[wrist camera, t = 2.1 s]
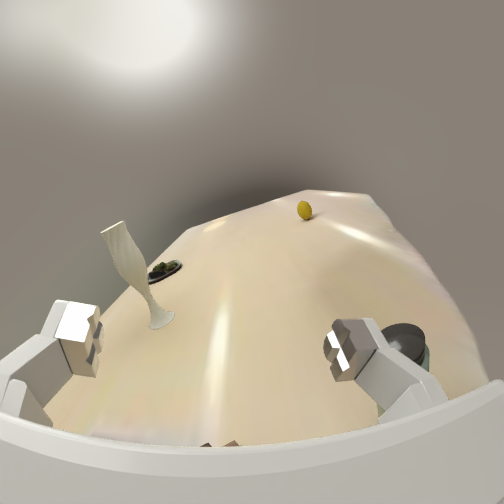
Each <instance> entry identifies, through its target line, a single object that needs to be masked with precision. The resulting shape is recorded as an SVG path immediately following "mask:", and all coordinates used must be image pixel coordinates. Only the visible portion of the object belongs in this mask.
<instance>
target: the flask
mask: <svg viewBox="0 0 504 504" xmlns="http://www.w3.org/2000/svg"><path fill="white" fill-rule="evenodd" d="M381 332H382V334H383V336H384V338H385V339H386V341H387V343H388V344H389V346H390V348H395V349H396V350H398V351H399V352H400V353H402V354H403V355H405V356H406V357H408V358H409V359H410V360H412V361H413V362H415V363H416V364H417V365H419V366H420V367H422V368H423V369H425V370H426V371H427V372H429V349H428V347H427V345H426V344H425V335H424V333H423V331H422V330H421V329H420V328H419V327H417V326H415V325H412V324H407V323H400V324H395V325H391V326H389V327H387V328H385V329H383V330H382V331H381ZM377 409H378V417H380V416H381V415H383V414H384V413H385V412H386V411H385V410H384V409H383V408H382V407H381V406H380V405H379V404H377Z"/></svg>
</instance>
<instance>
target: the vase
mask: <svg viewBox="0 0 504 504" xmlns="http://www.w3.org/2000/svg"><path fill="white" fill-rule="evenodd" d="M100 234H101V235H102V236H103V238H104V239H105V241H106V243H107V246H108V248H109V250H110V252H111V254H112V258H113V261H114V264H115V266H116V268H117V270H118V272H119V273H120V275H121V276H122V277H123V278H124V279H125V280H126V281H127V282H128V283H129V284H130V285H131V286H132V287H134V288H135V289H136V290H137V291H138V292H139V293H141V294H142V295H143V297H144V298H145V300H146V301H147V303H148V305H149V308H150V312H151V323H150V325H149V327H150V328H151V329H159V328H161V327H163V326H165V325H167V324H168V323H169V322H170V321H171V320H172V319H173V318H174V315H175V314H174V313H173V312H168V311H165V310H164V309H162V308H161V307H160V306H159V305H158V304H157V303H156V302H155V300H154V299H153V297H152V295H151V292H150V289H149V284H148V275H147V267H146V263H145V260H144V258H143V256H142V254H141V252H140V250H139V249H138V248H137V246H136V245H135V243H134V241H133V239H132V238H131V236H130V234H129V233H128V231H127V229H126V225H125V221H121V222H119V223H117V224H115V225H113V226H111V227H109V228H108V229H106V230H104V231H103V232H101V233H100Z"/></svg>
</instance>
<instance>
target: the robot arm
mask: <svg viewBox="0 0 504 504" xmlns="http://www.w3.org/2000/svg"><path fill="white" fill-rule="evenodd" d="M99 318H100V310H99V307H98V306H95V305H89V304H82V303H76V302H68V301H63V300H57V301H55V302H54V304H53V306H52V309H51V311H50V313H49V315H48V318H47V319H46V322H45V324H44V326H43V329H42V331H41V333H40V335H38V334H36V335H34V336H33V337H32V338H30V339H29V340H27V341H26V342H25V343H23V344H22V345H21V346H19V347H18V348H17V349H15V350H14V351H12V352H11V353H10V354H9V355H7V356H6V357H5V358H3V359H2V360H1V361H0V504H504V381H503V380H500V379H497V380H494V381H492V382H490V383H488V384H486V385H484V386H482V387H480V388H478V389H476V390H473V391H471V392H469V393H467V394H464V395H462V396H460V397H458V398H455V399H453V400H450V401H449V399H448V398H447V396H446V394H445V392H444V391H443V389H442V387H441V385H440V384H439V382H438V380H437V378H436V377H435V376H433V375H432V374H430V373H429V372H427V371H426V370H425V369H423V368H422V367H420V366H419V365H417V364H416V363H415V362H413V361H412V360H410V359H409V358H408V357H406V356H405V355H403V354H402V353H400V352H399V351H398V350H396V349H395V348H390V346H389V344H388V343H387V341H386V339H385V338H384V336H383V334H382V332H381V331H380V329H379V327H378V326H377V324H376V322H375V321H374V320H373V319H372V318H353V319H336V320H335V321H334V322H333V324H332V326H331V327H332V330H333V331H331V332H330V333H329V334H327V336H326V338H325V340H324V346H323V349H324V354H325V357H326V359H327V360H328V361H330V362H331V363H332V364H331V366H330V370H331V372H332V374H333V377H334V379H335V382H341V381H351V380H355V382H356V383H357V384H358V385H359V386H360V387H361V388H362V389H363V390H364V391H365V392H366V393H367V394H368V395H369V396H370V397H371V398H372V399H373V400H374V401H375V402H376V403H377V404H379V405H380V406H381V407H382V408H383V409H384V410H385V411H386V412H385V413H384V414H383V415H381V416H380V417H379V419H378V424H379V425H375V426H371V427H367V428H363V429H359V430H355V431H350V432H345V433H341V434H336V435H331V436H325V437H319V438H313V439H307V440H300V441H293V442H285V443H275V444H265V445H252V446H233V447H181V446H163V445H150V444H140V443H131V442H123V441H116V440H109V439H103V438H97V437H92V436H87V435H82V434H77V433H73V432H68V431H64V430H60V429H56V428H52V426H53V423H52V421H51V419H50V418H49V417H48V415H47V414H46V413H45V411H44V410H43V408H44V407H45V406H46V404H47V403H48V402H49V401H50V400H51V399H52V398H53V397H54V396H55V394H56V393H57V392H58V391H59V390H60V389H61V388H62V387H63V386H64V385H65V383H66V382H67V381H68V380H69V379H70V378H71V377H72V376H73V375H72V374H74V375H81V376H87V377H95V378H96V374H97V369H98V365H99V359H98V356H97V355H98V354H99V353H100V352H101V351H102V347H103V339H104V332H103V325H102V323H101V322H100V321H99Z"/></svg>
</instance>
